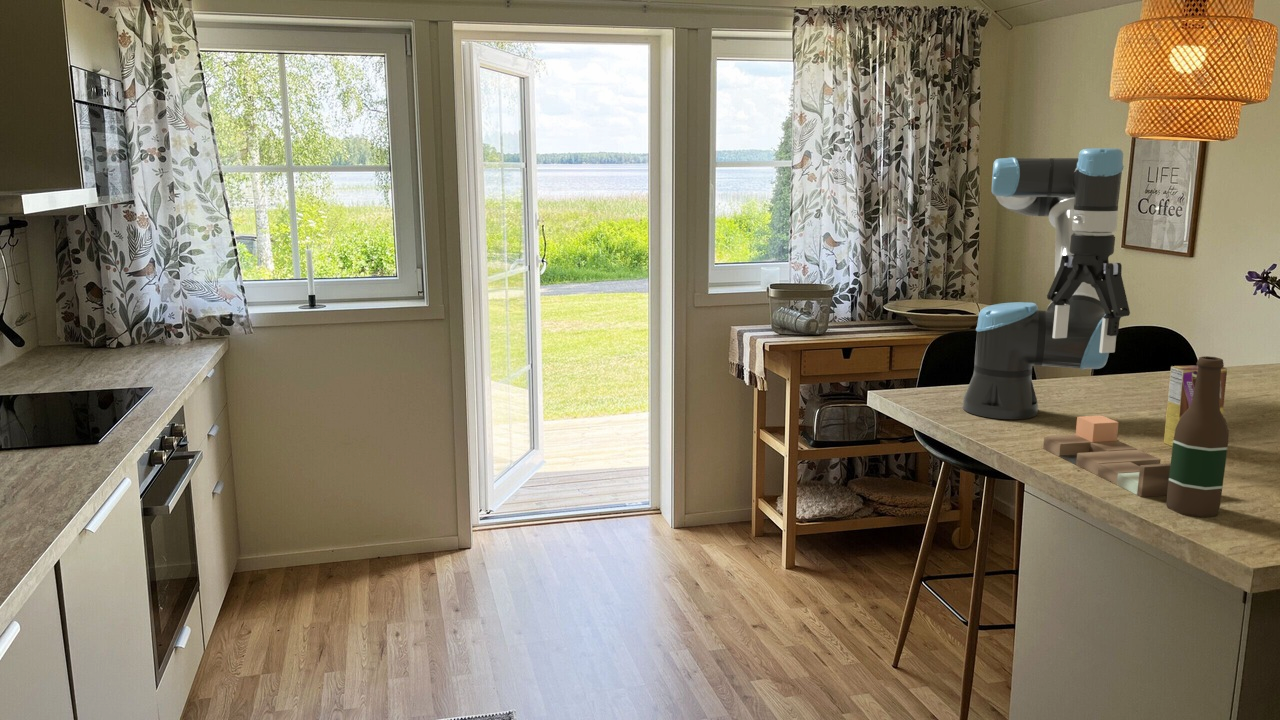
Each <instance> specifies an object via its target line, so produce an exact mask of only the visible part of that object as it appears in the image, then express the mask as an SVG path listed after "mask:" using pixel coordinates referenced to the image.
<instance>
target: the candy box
mask: <svg viewBox="0 0 1280 720" xmlns="http://www.w3.org/2000/svg"><path fill="white" fill-rule="evenodd" d="M1197 372H1198V365H1197V364H1196V365H1194V364H1193V365H1174V366H1173V365H1171V366H1170V373H1169V384H1168V385H1169V386H1168V391H1167V393H1168V395H1167V403H1166V404H1167V405H1166V416H1165V425H1164V435H1163V436H1164V437H1163V443H1164V444H1166V445H1167V446H1170V447H1171V448H1172V447H1173V439H1174V434H1175V429H1176V426H1177V424H1178V422H1179V420H1180V418H1181V416H1182V415H1183V414H1184V413H1185V412H1186V411H1187V409H1188V408H1189V407H1190V405H1191V402H1192V398H1193V393H1194V388H1195V382H1196V377H1197ZM1227 373H1228V368H1227V367H1223V368H1221V379H1220V396H1219V404H1220V411H1221V413H1222V415H1223V416H1224V406H1225V405H1224V404H1225V395H1226V384H1227Z"/></svg>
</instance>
